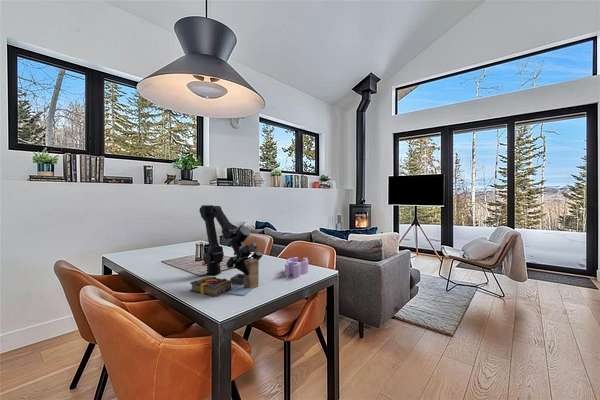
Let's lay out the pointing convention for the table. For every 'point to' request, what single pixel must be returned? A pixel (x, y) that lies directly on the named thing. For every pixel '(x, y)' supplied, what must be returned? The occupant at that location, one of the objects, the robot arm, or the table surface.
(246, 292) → the pad
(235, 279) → the trap pit
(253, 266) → the tan wooden block
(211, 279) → the decorative book
